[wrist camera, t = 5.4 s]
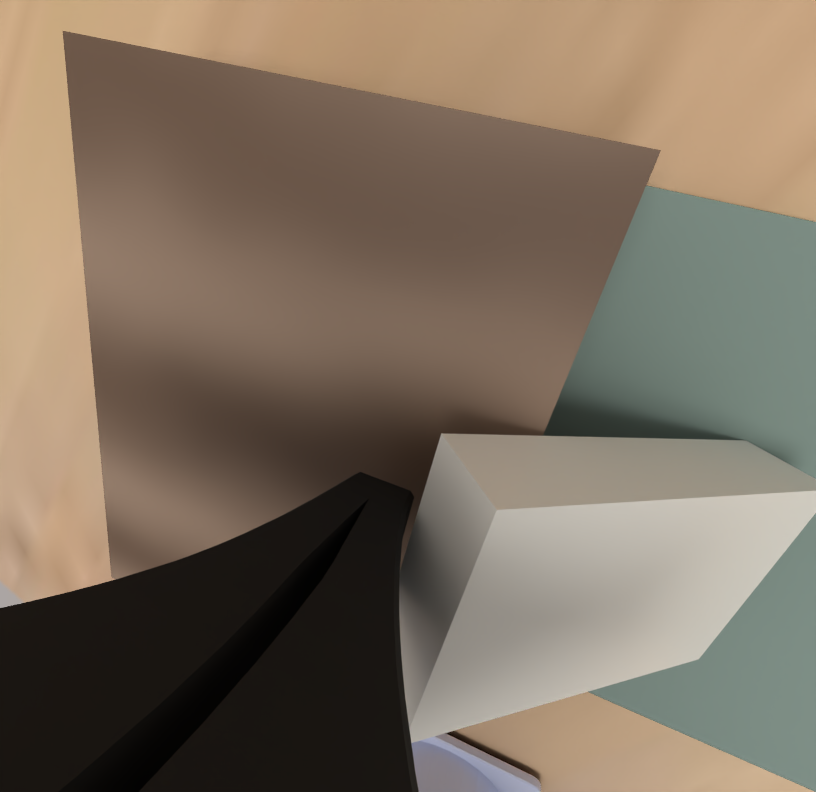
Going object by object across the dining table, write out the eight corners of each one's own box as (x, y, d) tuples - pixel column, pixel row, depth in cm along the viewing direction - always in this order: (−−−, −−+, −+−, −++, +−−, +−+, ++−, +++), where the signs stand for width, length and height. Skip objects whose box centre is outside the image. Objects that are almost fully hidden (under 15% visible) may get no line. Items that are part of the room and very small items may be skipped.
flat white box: (642, 598, 13) (698, 659, 12) (375, 648, 10) (402, 746, 8) (745, 440, 11) (834, 489, 9) (441, 433, 8) (497, 509, 6)
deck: (447, 623, 17) (421, 728, 13) (193, 512, 19) (111, 577, 15) (619, 181, 10) (660, 150, 7) (202, 91, 12) (62, 31, 9)
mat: (826, 788, 14) (832, 799, 14) (459, 628, 17) (458, 634, 16) (1370, 344, 8) (1400, 348, 7) (640, 186, 10) (643, 185, 10)
